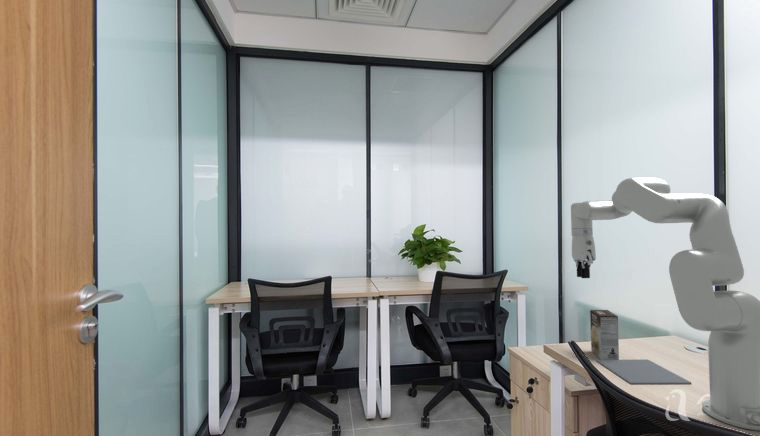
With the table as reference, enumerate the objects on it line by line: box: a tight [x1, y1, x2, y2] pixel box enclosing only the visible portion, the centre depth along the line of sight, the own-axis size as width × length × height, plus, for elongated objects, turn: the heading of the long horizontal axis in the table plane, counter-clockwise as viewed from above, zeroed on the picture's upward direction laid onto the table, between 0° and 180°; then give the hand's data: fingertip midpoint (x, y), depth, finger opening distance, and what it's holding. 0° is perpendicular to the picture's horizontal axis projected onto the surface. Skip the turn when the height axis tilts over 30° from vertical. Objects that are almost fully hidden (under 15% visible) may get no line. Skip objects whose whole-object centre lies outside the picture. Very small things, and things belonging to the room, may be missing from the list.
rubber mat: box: [595, 359, 692, 385], centre depth 115 cm, size 18×18×1 cm
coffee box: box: [589, 309, 620, 360], centre depth 129 cm, size 9×6×16 cm
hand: (583, 277), depth 142 cm, fingers open, 2 cm apart
